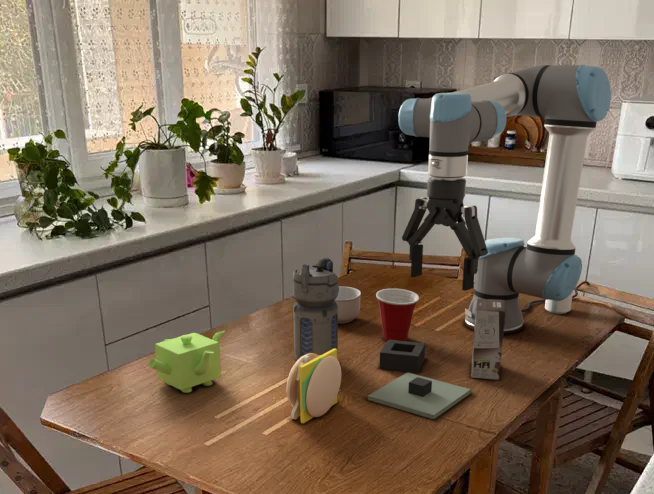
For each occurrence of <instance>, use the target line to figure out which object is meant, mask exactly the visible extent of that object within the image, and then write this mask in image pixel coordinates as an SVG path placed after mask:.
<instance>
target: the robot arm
mask: <svg viewBox="0 0 654 494" xmlns="http://www.w3.org/2000/svg"><path fill="white" fill-rule="evenodd" d="M611 100H612V88H611V83H610V79H609V76H608V74H607V72H606V71H605V70H604V69H603V68H601V67H600V66H594V65H586V64H579V65H577V64H575V65H574V64H573V65H568V64H566V65H565V64H564V65H563V64H562V65H559V64H558V65H557V64H555V65H553V64H552V65H551V64H540V65H534V66H529V67H526V68H521V69H517V70H515V71H511V72H508V73H504V74H501V75H499V76H497V77H496V78H495V79H494V80H493V81H490V82H487V83H484V84H480V85H475V86H471V87H468V88H464V89H460V90H456V91H453V92H439V93H435V94H434V95H433V96H432V97H429V98H421V97H416V98H407V99H406V100H405V101H403V103H401V105H400V108H399V111H398V127H399V130H401V132H402V133H404V135H407V136H414V137H415V138H418V137H419V138H421V137H422V138H429V149H428V164H427V166H428V167H427V174H428V176H430V177H429V178H428V179H427V181H426V182H427V184H426V185H427V187H426V196H427V197H428V198H427V197H426V196H425V197H420V198H416V199H415V201H414V208H413V211H412V214H411V216H410V218H409V221H408V223H407V225H406V227H405V229H404V232H403V234H402V236H401V239H402V242H406V243H408V245H409V253H408V254H409V255H408V257H409V261H411V262H410V278H417V277H419V276H422V275H423V257H424V245H423V244H422V242H423V240H424V238H425V237H426V236H427V234H428V233H429V232H430V231H431V230H432V229H433V227H434V226H435V225H437V226H439V225H442V226H443V227H449V228H450V230H452V231H453V232H454V234H455V236H456V238H457V240H458V241H459V243H460V245H461V247H462V248H463V250H464V253H465V254H466V255H467V256H466V257H464V258H463V272H462V283H461V284H462V286H461V291H465V292H466V291H470V290H472V289H473V296H472V299H471V301H470V304H469V306H468V308H465V309H464V310H465V311H464V314H465V317H464V325H465V327H466V328H468V329H470V330H472V331H474V329H475V316H476V306H477V299H485V300H487V299H494V300H505V308H506V313H505V323H504V334H503V335H506V334H514V333H516V332H519V331H521V330H522V329H523V328H524V315H523V313H524V312H527V311H529V309H530V306H531V305H533V304H536V303H537V304H539V303H545V301H546V300H548V299H549V300H555V301H561V300H564V299H565V298H567V297H568V296H569V295H570V294H571V293H572V291H573V292H574V293H575V294H573V295H572V299H575V298H576V297H577V296H578V295H579V293H578V289H579V288H581V287H582V286H583V285H585V284H586V285H587V286H591V284H590V282H589V281H588V280H583V281H582V282H580V283H579V281H580V279H581V275H582V271H583V263H582V262H583V261H582V259H581V256H579V255H577V254H576V248H577V247H576V244H575V243H574V242H573V241H572V233H573V229H574V228H573V227H574V222H575V221H574V220H575V215H576V209H577V202H578V197H579V190H580V186H581V185H580V184H581V178H582V171H583V166H584V160H585V154H586V147H587V141H588V137H589V136H590V134H591V133H593V132H594V131H595V130H596V129H597V124H598V123H597V122H600V121H603V120H604V119H605V118H606V117H607V116H608V112H609V110H610V107H611ZM514 116H522V117H523V116H524V117H534V118H542V119H543V118H545V119H544V125H543V126H544V128H545V129H546V131H547V132H548V133H549V135H548V136H549V137H548V145H547V149H546V150H547V151H546V157H545V163H544V170H543V178H542V184H541V189H540V197H539V204H538V211H537V217H536V218H537V219H536V224H535V231H534V236H533V237H531V238H530V239H529V240H528V241H527V243H526V244H525V240H524V239H523V238H521V237H520V238H519V237H497V238H490V239H486V240H485V238H484V234H483V231H482V227H481V224H480V221H479V218H478V207H477V205H470V206H465V204H464V199H465V197H466V189H467V180H466V178H465V177H466V176H467V175H468V160H469V159H468V158H469V155H468V153H469V144H470V143H476V142H483V141H484V142H488V141H490V140H493V139H497V138H498V137H500V136H501V135H502V133H504V131H505V129H506V126H507V122H508V121H507V118H510V117H511V118H512V117H514ZM427 210H428V214H427V215H426V216H425V214H426V212H427ZM424 216H425V218H424ZM423 218H424V219H423ZM422 220H423V222H422ZM525 245H526V246H525ZM578 283H579V284H578ZM520 294H522V295H526V296H531V297H536V298H539V299H536V300H531V301H529V302H528V303H527V305H526V307H525V308H522V309H521V304H520V297H519V295H520Z"/></svg>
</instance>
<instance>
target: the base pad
mask: <svg viewBox="0 0 654 494" xmlns="http://www.w3.org/2000/svg"><path fill="white" fill-rule="evenodd" d="M471 393H472V389H471V388H468V387H464V386H460V385H456V384H453V383H448V382H445V381H442V380H437V379H434V378H430V377H427V376H422V375H420V374H415V373H413V372H409V371H406V372H405V373H404V374H402V375H400V376H398V377H397V378H396V379H393V380H392V381H391V382H388V383H386V384H385V385H383V386H381V387H380V388H378V389H376V390H375V391H373V392H371V393H370V394H368V395H367V400H368V401H371V402H374V403H377V404H381V405H384V406H387V407H390V408H395V409H397V410H400V411H404V412H407V413H411V414H414V415H417V416H421V417H424V418H428V419H430V420H435V419H436V418H438V417H439V416H441V415H442V414H444V413H445V412H446V411H448V410H450V408H452V407H453V406H455V405H456V404H458V403H459V402H461V401H462V400H463V399H465V398H466V397H467V396H469V395H471Z"/></svg>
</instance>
